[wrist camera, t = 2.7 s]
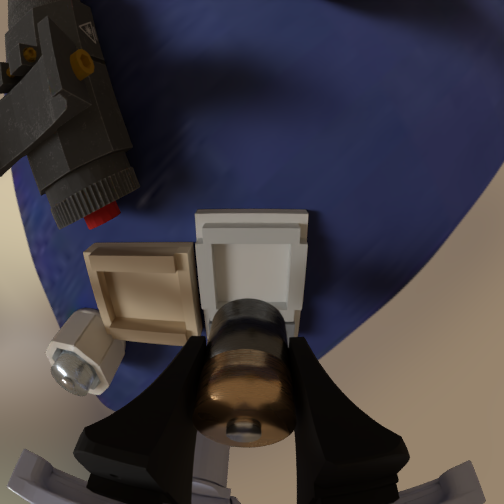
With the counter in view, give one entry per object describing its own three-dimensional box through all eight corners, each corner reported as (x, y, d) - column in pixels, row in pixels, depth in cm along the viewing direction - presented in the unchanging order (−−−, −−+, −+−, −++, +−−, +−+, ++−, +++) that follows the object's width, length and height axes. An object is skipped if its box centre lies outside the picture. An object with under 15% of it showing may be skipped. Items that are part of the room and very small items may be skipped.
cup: (132, 360, 25) (115, 399, 20) (83, 352, 25) (63, 385, 20) (116, 310, 22) (91, 348, 18) (64, 305, 22) (37, 337, 18)
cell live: (283, 355, 14) (291, 455, 9) (214, 354, 14) (198, 452, 9) (287, 298, 13) (303, 405, 7) (208, 297, 13) (181, 402, 8)
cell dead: (115, 355, 23) (92, 403, 18) (85, 350, 23) (59, 393, 18) (104, 326, 22) (75, 373, 16) (73, 321, 22) (42, 364, 16)
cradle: (295, 331, 22) (299, 351, 20) (208, 330, 23) (204, 350, 20) (305, 209, 18) (312, 220, 16) (197, 209, 18) (189, 220, 16)
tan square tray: (202, 327, 22) (197, 346, 20) (115, 321, 23) (104, 337, 21) (193, 242, 19) (185, 256, 17) (94, 242, 20) (79, 255, 18)
